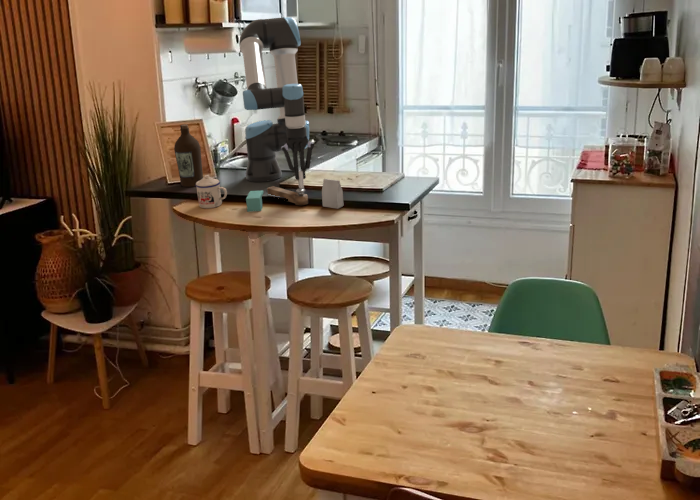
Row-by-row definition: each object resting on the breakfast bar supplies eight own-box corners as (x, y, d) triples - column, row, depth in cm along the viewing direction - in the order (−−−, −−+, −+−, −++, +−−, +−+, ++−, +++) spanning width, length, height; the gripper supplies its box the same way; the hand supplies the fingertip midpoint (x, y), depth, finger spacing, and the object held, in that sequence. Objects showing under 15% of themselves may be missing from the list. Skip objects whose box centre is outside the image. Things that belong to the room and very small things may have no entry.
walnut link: (310, 203, 279) (310, 195, 278) (300, 206, 276) (300, 198, 275) (275, 193, 294) (274, 185, 293) (265, 196, 291) (265, 188, 290)
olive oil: (186, 180, 322) (178, 122, 312) (209, 180, 319) (201, 122, 310) (175, 187, 312) (166, 127, 303) (198, 187, 309) (190, 127, 300)
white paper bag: (337, 208, 272) (336, 182, 268) (322, 206, 276) (320, 180, 272) (343, 205, 275) (341, 179, 271) (328, 203, 279) (326, 177, 275)
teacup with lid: (194, 208, 283) (190, 178, 279) (205, 201, 291) (201, 171, 287) (223, 209, 280) (219, 179, 275) (233, 202, 288) (229, 172, 283)
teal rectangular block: (251, 203, 284) (250, 191, 282) (264, 203, 284) (263, 190, 282) (247, 211, 275) (245, 198, 273) (260, 211, 275) (259, 198, 273)
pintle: (296, 193, 280) (296, 188, 279) (305, 193, 280) (305, 188, 279) (295, 196, 277) (295, 191, 276) (305, 196, 277) (304, 190, 276)
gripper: (310, 122, 285) (315, 182, 294) (276, 126, 282) (282, 187, 290) (315, 126, 279) (320, 187, 287) (281, 130, 275) (287, 192, 283)
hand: (301, 187), depth 288 cm, fingers closed
